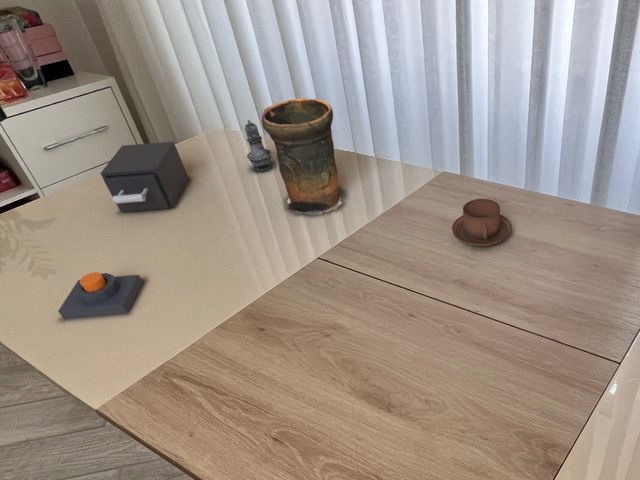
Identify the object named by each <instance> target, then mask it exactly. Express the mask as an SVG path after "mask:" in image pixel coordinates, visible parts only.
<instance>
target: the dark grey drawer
mask: <svg viewBox="0 0 640 480" xmlns="http://www.w3.org/2000/svg"><path fill="white" fill-rule="evenodd" d="M103 182H104V184H105V185H106V187H107V189H108V191H109V193H110V195H111V197H112V201H113V203H114V204H116V206H117V208H118V210H119V211H120V213H131V212H130V211H134V212H143V211H142V210H146V211H155V210H154V209H158V210H167V209H166V208H169V207H170V204H169V202H168V200H167V198H166V196H165V194H164V192H163V189H162V187H161V185H160V183H159V181H158V179H157V176H156V174H155V173H143V174H130V175H117V176H112V177H105V178H104V179H103Z"/></svg>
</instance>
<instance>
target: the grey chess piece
mask: <svg viewBox="0 0 640 480" xmlns="http://www.w3.org/2000/svg"><path fill="white" fill-rule="evenodd" d="M244 131H245V134H246V137H247V139H246V142H247V143H248V145H249V147H250V152H249V153H247V155H246V158H247V159H248V161H249V162H250V163H251V164H252V165H253V167H252V172H255V173H266V172H269V171H272V169H273V168H274V166H275V165H274V164H273V163H271V161H272V153H273V152H272V150H270V149H266V148H265V147H264V144H263V137H262V136H261V134H260V132H259V129H258V126H257V125H256V123H253V122H251V120H249V119H247V123H246V124H245V125H244Z"/></svg>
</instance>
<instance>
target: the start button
mask: <svg viewBox="0 0 640 480" xmlns="http://www.w3.org/2000/svg"><path fill="white" fill-rule="evenodd" d="M79 280H80V284H81V285H82V287H83V288H84V290H85V291H87V292H91V291H96V290H98V289H101V288H102V287H104V286H105V285H106V281H105V279H104V277H103V276H102V274H101V272H98V271H95V272H90V273H87V274H85V275H83V276H82V277H81V278H79Z"/></svg>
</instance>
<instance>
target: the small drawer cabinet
mask: <svg viewBox="0 0 640 480" xmlns="http://www.w3.org/2000/svg"><path fill="white" fill-rule="evenodd" d="M143 173H155V174H156V176H157V179H158V181H159V183H160V185H161V187H162V189H163V192H164V194H165V196H166V198H167V200H168V202H169V204H170V207H169V208H166V209H165V210H170V209H175V207H176V206H177V204H178V202H179V200H180V198H181V196H182V194H183V193H184V191H185V189H186V186H187V185H188V184H189V181H190V178H189V175H188V172H187V169H185V165H184V163H183V161H182V158H181V156H180V154H179V151H178V149H177V146H176V145H175V142H174V141H164V142H149V143H137V144H124V145H123V144H122V145H121V146H120V147H119V149H118V150H117V151H116V153H115V154H114V155H113V157H112V158H111V159H110V160H109V161H108V163H107V164H106V166H105V167H104V168H103V169H102V170H101V172H100V176H101V177H102V179H103V180H104V178H105V177H112V176H117V175H130V174H143ZM157 210H159V209H154V210H153V211H157ZM144 211H147V210H142V211H141V212H144ZM132 212H135V211H130V212H129V213H132Z"/></svg>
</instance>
